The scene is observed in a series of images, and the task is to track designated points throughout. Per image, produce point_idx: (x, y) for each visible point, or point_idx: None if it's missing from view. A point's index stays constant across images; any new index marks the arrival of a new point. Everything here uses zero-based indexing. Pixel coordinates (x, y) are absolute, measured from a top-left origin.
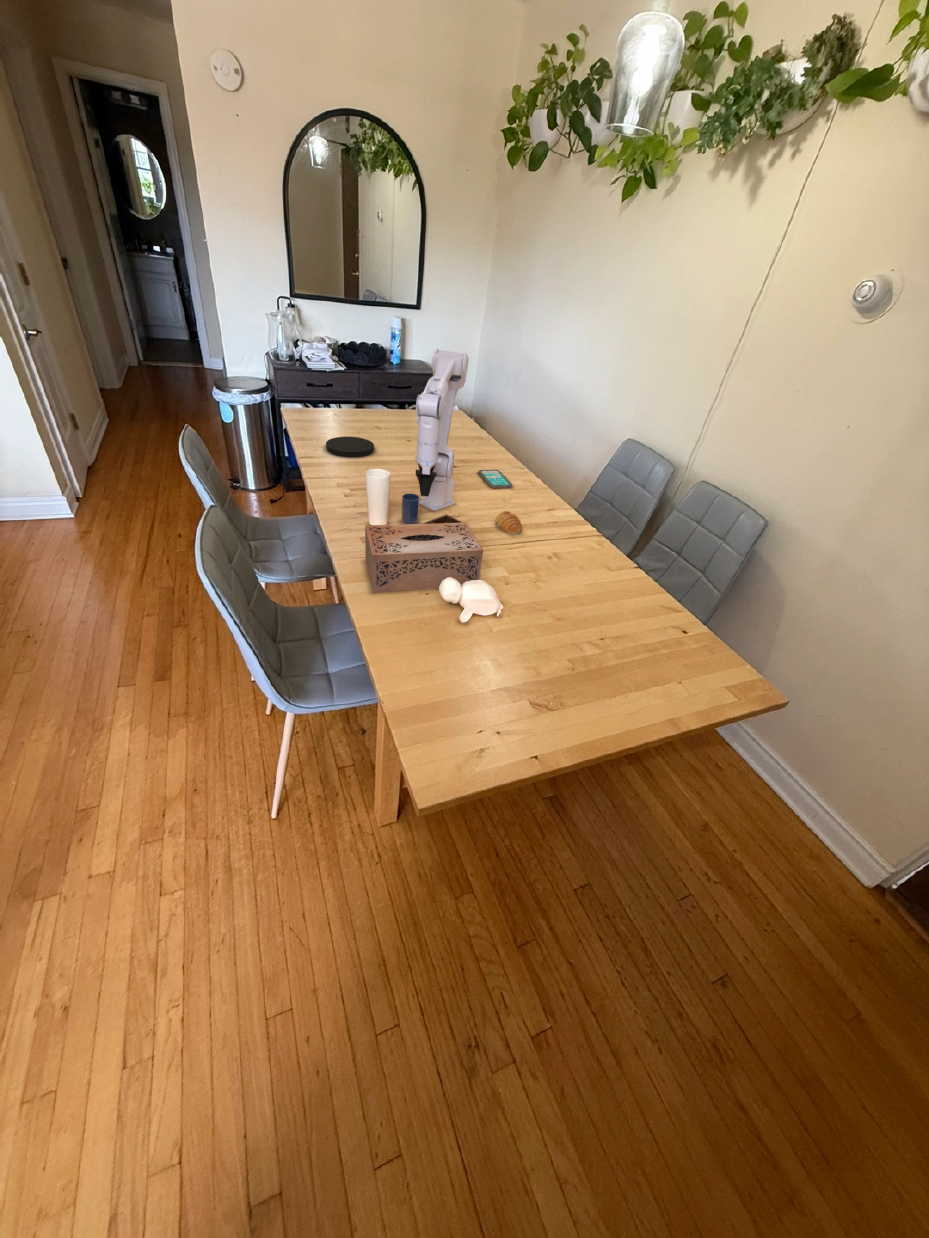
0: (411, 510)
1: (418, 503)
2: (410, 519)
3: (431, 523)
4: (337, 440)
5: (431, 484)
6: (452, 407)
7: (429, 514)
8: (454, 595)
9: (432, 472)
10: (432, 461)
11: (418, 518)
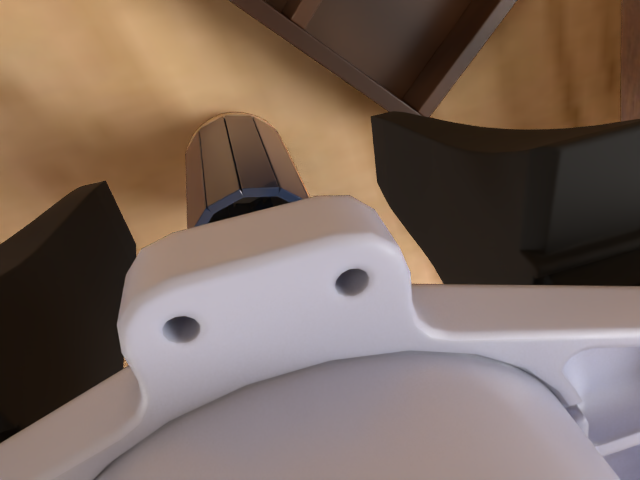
0: (304, 185)
1: (267, 171)
2: (293, 162)
3: (314, 11)
4: None
5: (499, 131)
6: None
7: (44, 76)
8: None
9: (563, 216)
10: (557, 397)
11: (232, 123)
